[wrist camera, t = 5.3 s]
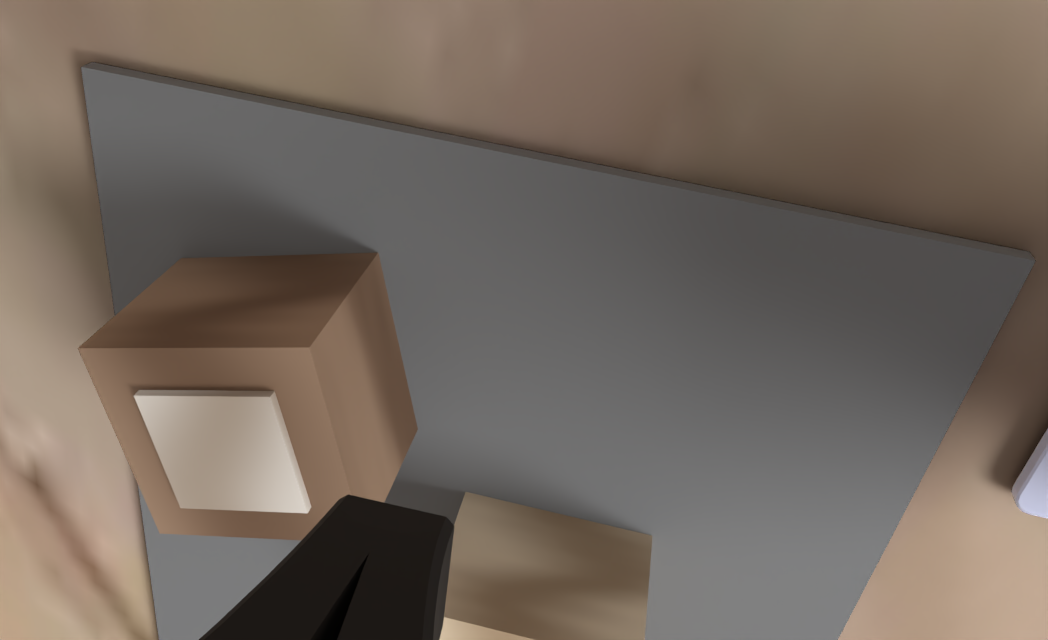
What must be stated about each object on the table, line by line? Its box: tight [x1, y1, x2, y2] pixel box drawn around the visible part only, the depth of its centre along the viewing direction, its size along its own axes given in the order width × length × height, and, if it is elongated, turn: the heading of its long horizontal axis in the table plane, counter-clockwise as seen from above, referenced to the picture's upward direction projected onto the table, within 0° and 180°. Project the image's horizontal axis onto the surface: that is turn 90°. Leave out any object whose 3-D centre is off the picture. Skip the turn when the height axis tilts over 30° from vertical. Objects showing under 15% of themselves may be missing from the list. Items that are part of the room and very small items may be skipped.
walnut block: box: [78, 253, 418, 540], centre depth 20 cm, size 5×5×4 cm
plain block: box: [439, 492, 652, 640], centre depth 22 cm, size 5×5×4 cm
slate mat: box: [81, 62, 1036, 640], centre depth 24 cm, size 20×24×1 cm
